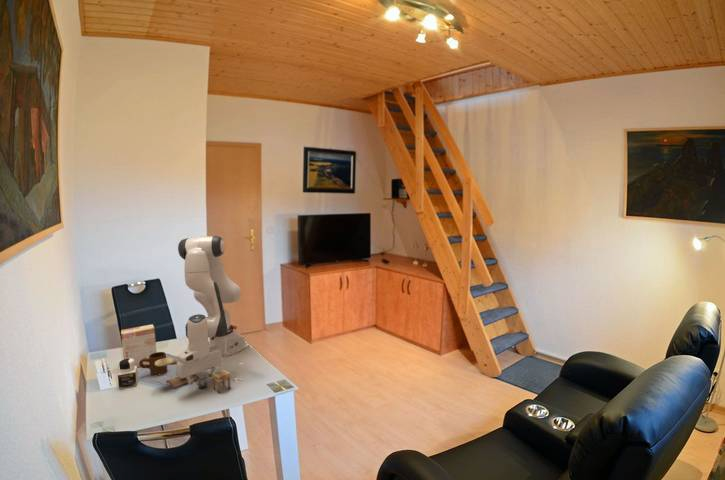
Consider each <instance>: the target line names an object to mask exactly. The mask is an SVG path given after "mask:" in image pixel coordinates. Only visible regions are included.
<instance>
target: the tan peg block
mask: <svg viewBox="0 0 725 480" xmlns="http://www.w3.org/2000/svg"><path fill="white" fill-rule="evenodd" d="M226 380H227V390H231V372H229V371H227V370H226V369H220V370H219V371H214V373H213V374H212V377H211V381H212V390H213V391H216V381H217V390H218V391H217V392H218V394H222V390H221V381H222V386H223V387H224V386H226Z"/></svg>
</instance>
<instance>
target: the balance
mask: <svg viewBox="0 0 725 480" xmlns="http://www.w3.org/2000/svg"><path fill="white" fill-rule="evenodd" d="M177 362H178V360H176V361H175V358H174V357H166V358H162V359H159V360H157V361H156V362H155V366H167V367H168V366H172V365H173V366H175V365H177ZM198 378H200V376H199V375H197V373H196V374H193V375H191V376H190V378H189V379H192V380H193V383H195V382H198ZM166 382H167V383H169V384H170V385H171V386H172V387H173V388H172V387H171V386H170V385H169V386H170V387H171V388H172V389H174V390H177V389H180V388H182V387H185V386H187V385H189V384H188V380H187V379H186V378H182V379H181V378H179V377H178V376H176V377H174V378H171V379H167V380H166ZM167 383H166V384H167Z"/></svg>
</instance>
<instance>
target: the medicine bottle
mask: <svg viewBox="0 0 725 480" xmlns="http://www.w3.org/2000/svg"><path fill="white" fill-rule="evenodd" d="M118 366H119V371H118V373H117V380H118V389H119V390H123V389H127V388H133V387H136V386H138V381H139V373H138V372H139V371H138V367H137V366H135V364H134V359H131V358H128V359H124V358H123V359H122V360H120V361H119V365H118Z"/></svg>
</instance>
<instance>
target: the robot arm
mask: <svg viewBox="0 0 725 480" xmlns="http://www.w3.org/2000/svg"><path fill="white" fill-rule="evenodd" d="M225 250H226V244H225V242H224V238H222V237H221V236H217V235H212V236H209V235H207V236H205V235H204V236H197V237H191V238H188V237H187V238H183V239H181V240H180V241H179V242H178V245H177V251H178V255H179V256H180V258H181V259H182V260H183V261H184V269H183V270H184V271H183V272H184V282H185V285H186V286H187V287H188V289H190V290H191V291H193V297H194V299H195V301H197V302H198V303H199V304H200V305H201V306H202V307H203V308H204V310H205V312H206V314H207V316H206V315H205V314H192V315H191V316H190V317H188V320H187V322H186V324H185V327H184V328H185V337H186V338H187V339H188V345H187V348H186V349H185V350H183V351H181V352H180V353H178V354H177V357H176V358H177V359H178V360H177V361H178V362H177V364H175V365H176V367H175V369H176V371H175V373H176V377H179V378H181V379H182V378H186V379H187V380H188V384H187V385H189V386H191V385H194V382H193V380H192V379H189V378H190V376H191V375H193V374H196V375H197V374H199V373H202V372H204V371H207V370H210V371H209V372H208V378H211V379H212V374H213V373H215V372H216V367H218V366H221V365H222V364H223V356H225V357H226V356H227V357H230V356H232V355H235V354H236V353H239V352H241V351H243V350H245V349H247V348H249V347H250V344H249V342H247V341H245V340H246V339H245V337H244V335H242V334H241V333H239V332H238V331H235V330H237V329H238V326H237V325H233V324H231V316H230V315H231V314H230V312H229V310H228V309H227V308H224V304H233V303H236V302H238V301H239V300H240V299H241V296H242V289H241V287H240V285H239V284H237V283H235V282H234V281H232V279H230V277H229V276H228V275H227V273H226V272H225V268H224V265H223V259H222V257H221V256H223V254H225ZM247 344H248V345H247Z"/></svg>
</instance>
